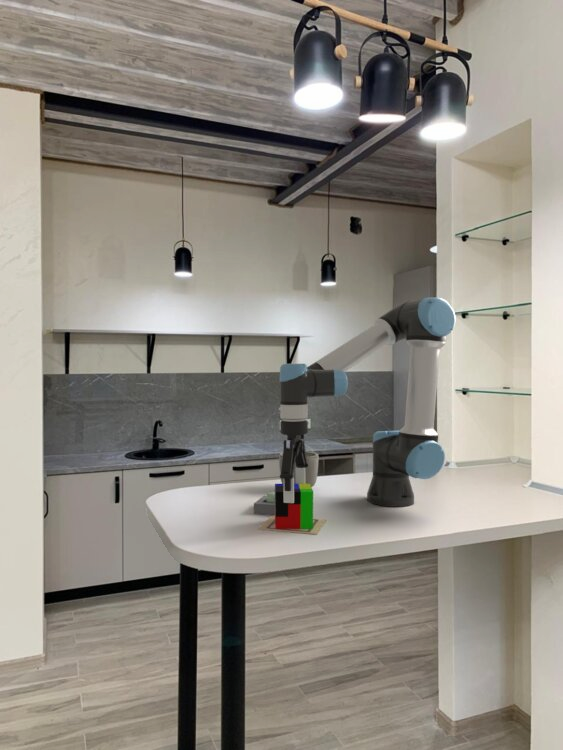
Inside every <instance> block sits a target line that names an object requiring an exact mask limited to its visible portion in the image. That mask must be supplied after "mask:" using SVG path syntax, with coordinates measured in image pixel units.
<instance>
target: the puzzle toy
mask: <svg viewBox="0 0 563 750" xmlns="http://www.w3.org/2000/svg"><path fill="white" fill-rule="evenodd" d="M274 492H275V515H274V516H275V528H276V529H313V519H314V490H313V487H311V485H310V484H294V503H284V497H283V484H282V483H275V484H274Z"/></svg>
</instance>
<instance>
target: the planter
mask: <svg viewBox="0 0 563 750" xmlns="http://www.w3.org/2000/svg"><path fill="white" fill-rule="evenodd" d="M305 451H306V450H305ZM282 459H283V451H282V452H280V453H279V454H278V467H279V476H280V475H281V469H282ZM306 459H307V464H308V467H304V468H305V484H310V485H311V487H312V488H313V487H314V486H315V484H316V483H317V478H318V473H319V461H320V460H319V459H320V456H319V454H318V453H317V452H314V451H313V452H312V451H306ZM295 468H298V467H297V466H296V462H295V466H294V472H293V478H294V484H296V469H295ZM280 482H281V484H283V478H280Z"/></svg>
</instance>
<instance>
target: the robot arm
mask: <svg viewBox="0 0 563 750" xmlns="http://www.w3.org/2000/svg"><path fill="white" fill-rule="evenodd" d="M455 326H456V314H455V311H454V309H453V307H452V306H451V305H450V303H449V302H448V301H447V300H446V299H444V298H441V297H435V296H434V297H425V298H424V297H423V298H421V299H415V300H409V301H404V302H401V303H400V304H399V305H397V306H395V307H394V308H391V309H390V310H389V311H387V312H385V313H384V314H383V315H382V316H380V317H378V318H377V319H375V321H374V323H373V324H372V326H370V327H368V328H367V329H365V330H363V331H362V332H360V333H359V334H358V335H355V336H354V337H352V338H351V339H350V340H348V341H346V342H344V343H343V344H342V345H340V346H339V347H337V348H335V349H334V350H333V351H330V352H329V353H327V354H325V355H324V356H323V357H321V358H319V359H318V360H316V361H315V362H314V363H312V364H310V365H308V364H306V363H283V364H282V365H281V366H280V368H279V379H278V381H279V399H280V400H279V403H280V407H278V411H280V412H279V413H280V414H279V415H280V419H282V420H280V422H279V424H280V425H279V427H280V434H281V435H283V436H287V439H285V440H283V451H282V452H283V459H282V469H281V475H280V474H279V479H281V478H283V497H284V503H294V478H293V472H294V466H295V462H296V466H297V467H298V468H295V469H296V484H305V468H304V467H308V464H307V459H306V444H305V435H306V434H308V429H309V425H308V424H309V423H308V421H307V420H308V419H307V418H308V416H309V412H308V410H309V409H308V408H309V407H308V398H320V397H321V398H323V397H324V398H325V397H341V396H344V395H346V393H347V391H348V388H349V387H348V386H349V381H348V380H349V379H348V376H347V373H346V372H347V371H349V370H351V369H352V368H353V367H355V366H356V365H358V364H359V363H361V362H362V361H364V360H365V359H367V358H369V357H370V356H372V355H373V354H375V353H376V352H378V351H379V350H382V348H384V347H386V346H392V345H395V344H396V343H398V342H400V341H402V340H406V341H405V342H406V344H407V345H408V346H409V347H410V352H409V353H410V354H409V366H408V378H407V379H408V380H407V391H406V404H405V414H404V415H405V416H404V417H405V418H404V426H403V427H401V429H399V430H384V431H383V430H381V431H380V430H379V431H376V432H375V433H373V438H372V476H371V477H372V478H371V481H370V482H369V486H368V489H367V492H366V500H367V502H369V503H370V504H374V505H377V506H384V507H406V506H410V505H413V504H414V503H415V493H414V491H413V486H412V483H411V480H410V477H411V478H413V479H420V480H429V479H432V478H433V477H435V476H436V475H437V474H438V473H439V472H440V471H441V470H442V469H443V466H444V464H445V459H446V457H445V454H446V453H445V449H443V448H442V445H441V444H439V434H438V432H437V431H436V429H435V416H436V403H437V391H438V389H437V388H438V376H439V364H440V350H441V349H442V348H443V347H444V346H445V345H446V342H447V336H448V335H449V334H450V333H451V331H453V330H454V329H455Z"/></svg>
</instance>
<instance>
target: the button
mask: <svg viewBox="0 0 563 750" xmlns="http://www.w3.org/2000/svg"><path fill="white" fill-rule="evenodd" d="M265 496H266V503H275V491H269V492H266V495H265Z"/></svg>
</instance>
